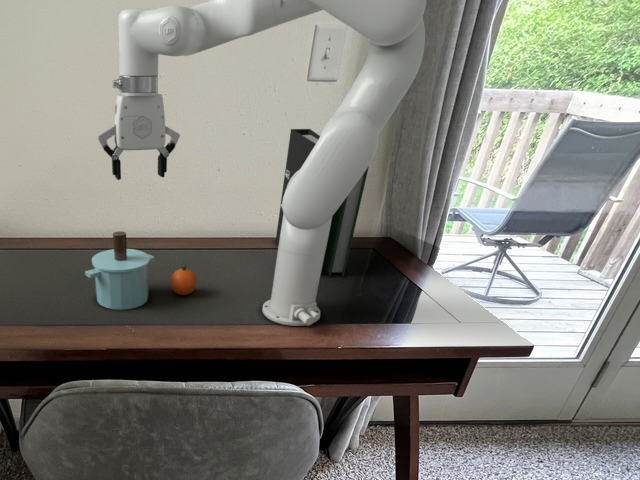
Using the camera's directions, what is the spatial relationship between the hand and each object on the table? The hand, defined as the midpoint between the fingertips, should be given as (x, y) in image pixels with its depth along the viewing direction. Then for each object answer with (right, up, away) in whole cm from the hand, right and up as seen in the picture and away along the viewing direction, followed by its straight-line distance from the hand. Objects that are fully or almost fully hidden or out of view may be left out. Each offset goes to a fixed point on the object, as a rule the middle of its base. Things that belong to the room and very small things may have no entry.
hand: (139, 177), depth 103 cm
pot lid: (-5, -17, +8) cm, 19 cm away
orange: (+11, -23, +15) cm, 30 cm away
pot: (-4, -24, +13) cm, 28 cm away
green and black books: (+48, -10, +34) cm, 60 cm away
